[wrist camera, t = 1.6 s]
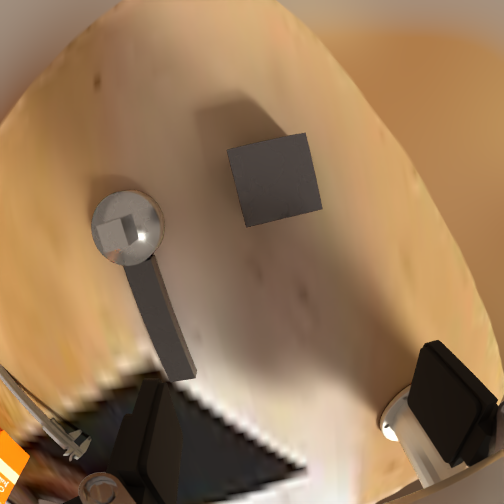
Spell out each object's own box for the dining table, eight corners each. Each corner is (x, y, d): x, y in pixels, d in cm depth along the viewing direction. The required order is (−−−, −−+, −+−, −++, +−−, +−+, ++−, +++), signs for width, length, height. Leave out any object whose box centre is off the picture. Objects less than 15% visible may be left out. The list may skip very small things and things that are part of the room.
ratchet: (153, 180, 28) (137, 183, 23) (213, 367, 34) (210, 395, 29) (91, 201, 28) (68, 208, 23) (157, 376, 34) (148, 403, 29)
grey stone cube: (291, 139, 28) (305, 132, 22) (306, 201, 29) (322, 209, 24) (229, 154, 28) (226, 149, 22) (244, 216, 29) (246, 227, 24)
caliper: (92, 436, 37) (80, 464, 31) (90, 438, 37) (78, 466, 31) (-9, 353, 33) (-30, 374, 27) (-10, 357, 33) (-31, 377, 27)
